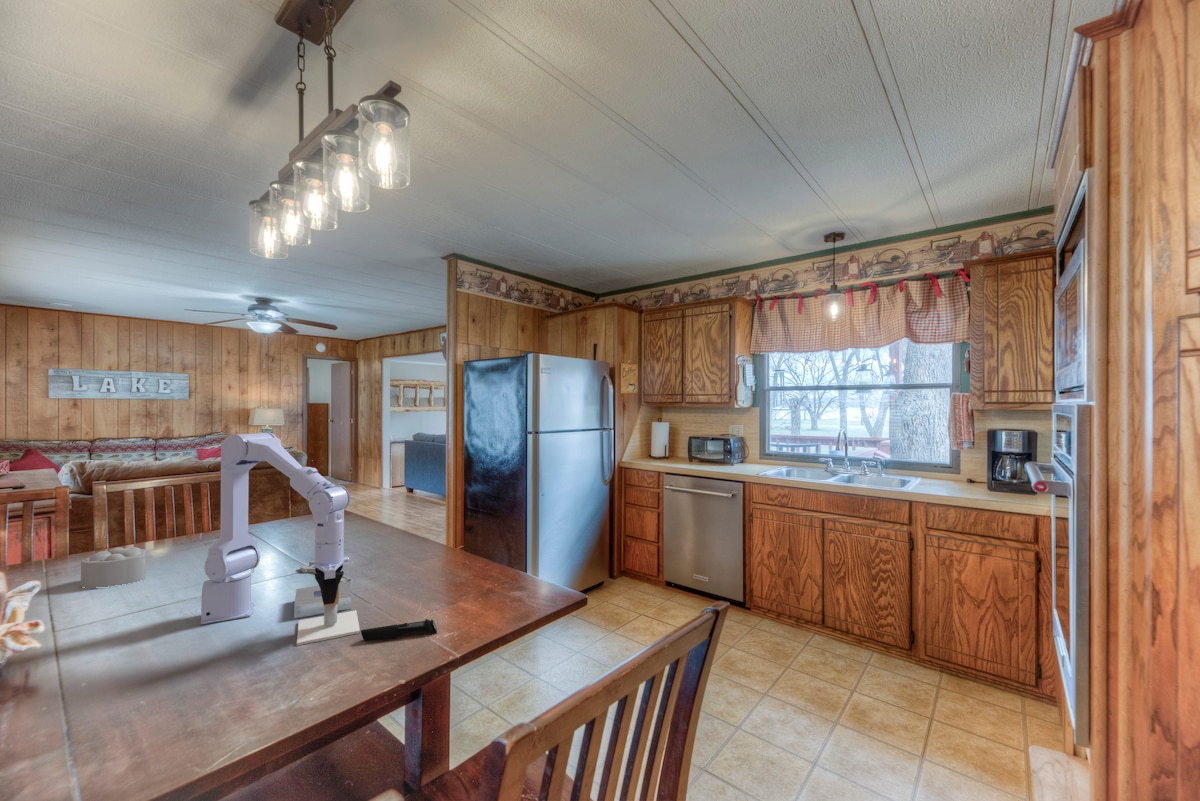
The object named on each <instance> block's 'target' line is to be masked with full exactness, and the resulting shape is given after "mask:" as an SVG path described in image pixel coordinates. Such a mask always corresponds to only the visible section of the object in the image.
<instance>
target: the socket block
mask: <svg viewBox="0 0 1200 801" xmlns="http://www.w3.org/2000/svg"><path fill="white" fill-rule="evenodd" d="M350 586H351V585H349V581H346V582H340V583H339V603H338V604H337V612H340V611H347V610H352V594H351V587H350ZM295 589H296V590H295V598H294V607H293V608H294V610H293V611H294V614H293V619H294V620H297V619H302V618H308V617H313V616H319V615H324V606H323V600H322V594H321V590H320V586H319V585H315V586H307V587H301V588H300V587H299V588H295Z"/></svg>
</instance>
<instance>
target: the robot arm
mask: <svg viewBox="0 0 1200 801" xmlns="http://www.w3.org/2000/svg"><path fill="white" fill-rule="evenodd" d="M260 462H267V463H268V464H269V465H271V466H272V467H274V468H275V469H276V470H278V471H279V472H281V473H282V474H283V475H285V476H286V477H287V478H289V485H290V487H291V488H292V489H293V490H294V491H296V492H297V493H299V495H300V496H302V498H304V499H305V500H306V501H308V507H309V510H310V512H311V513H312V516H313V517H312V520H313V522H314V524H315V525H314V526H315V527H314V560H313V561H314V566H315V567H316V568H315V571H316V573H314V578H315V581H316V582H317V585H318V586H320V590H321V594H322V600H323V603H324V605H327V604H333V603H334V602H335V599H336V594H337V589H338V585H339V583H340V580H341V578H342V577H343V576H344V571H342V570H343V568H344V563H348V562H350V557H349V556H345V555H344V552H345V550H344V547H345V546H344V545H345V542H344V541H345V540H344V539H345V538H344V537H345V533H344V532H345V528H344V526H345V510H346V509H347V508H348V507H349V505H350V502H351V496H350V493H349V491H348V489H347V488H346V487H345V486H344V485H341V484H340V485H338V484H337V485H336V484H334V483H332V482H331V481H329V480H328V479H326V478H325V477H324V476H322V475H321V474H320V473H319V471H318V469H317V468H316V467H311V466H304V467H303V465H302V464H301V463H299V461H297V460H296V459H295V458H294V457H293V456H292V455H291V454H290V453H289V452H288V451H287V450H286V449H285V448H284V447H283V446H282V440H281V439H280V438H278V437H277V436H276V435H275V433H272V432H270V431H265V432H257V433H255V432H254V433H240V434H238V433H235V434H234V433H233V434H230V435H228V436H227V437H226V438H225V439H224V440H223V441H221V443H220V526H219V527H220V532H219V534H220V535H219V536H220V537H219V538H218V540H216V541H215V542H214V543H213V544H212V545H211V546H210V547H209V548H208V549H207V558H206V560H205V561H204V573H205V575H206V576H207V578H209V579H207V580H205V581H203V583H202V588H201V603H200V604H201V609H200V610H201V613H200V614H201V615H200V618H201V620H200V625H206V624H211V623H218V622H225V621H230V620H236V619H241V618H248V617H251V616H252V614H253V610H254V607H255V602H252V574H254V573H255V568H257V567H258V566H259V563H260V560H261V554H260V551H259V548H258V540H257V539H256V538H254V537H252V536H250V535H249V485H250V484H249V475H250V474H249V472H250V470H251V469H253V468H254V467H255V466H257V464H259V463H260Z"/></svg>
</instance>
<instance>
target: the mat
mask: <svg viewBox="0 0 1200 801" xmlns="http://www.w3.org/2000/svg"><path fill="white" fill-rule="evenodd" d="M358 617H359V616H358V612H357V610H356V609H355V610H350V611H344V612H340V613H338V612H337V622H336V623H335V624H332V625H325V624H324V615H323V616H316V617H312V618H306V619H299V620H298V624H297V625H298V626H297V635H296V636H297V637H296V646H297V647H298V646H302V645H308V644H312V643H316V642H323V641H327V640H332V639H338V638H341V637H347V636H353V635H357V634H361V629H360V623H359V618H358Z"/></svg>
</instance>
